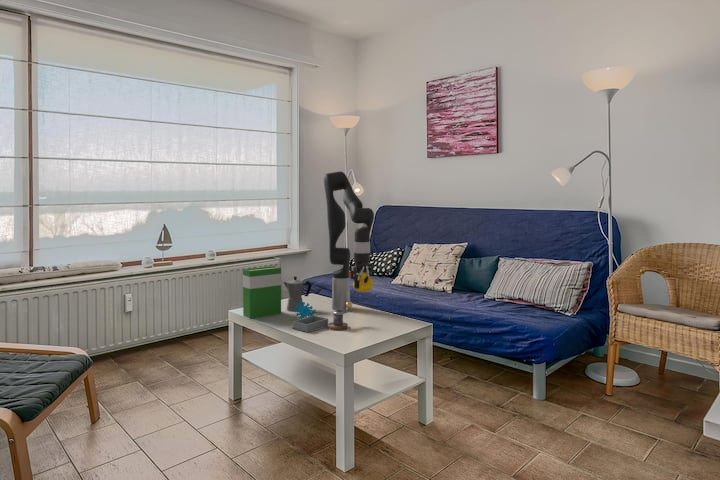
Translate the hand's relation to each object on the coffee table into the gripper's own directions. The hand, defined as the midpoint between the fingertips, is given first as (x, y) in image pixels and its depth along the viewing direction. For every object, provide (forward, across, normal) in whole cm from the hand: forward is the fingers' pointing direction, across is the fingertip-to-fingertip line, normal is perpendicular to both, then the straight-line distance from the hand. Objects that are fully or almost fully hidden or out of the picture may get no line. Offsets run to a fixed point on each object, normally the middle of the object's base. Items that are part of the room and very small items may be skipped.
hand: (361, 286), depth 223 cm
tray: (+19, +15, -18) cm, 31 cm away
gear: (+20, +4, -32) cm, 38 cm away
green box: (+20, +14, -53) cm, 59 cm away
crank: (+13, +3, -8) cm, 16 cm away
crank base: (+19, +7, -8) cm, 22 cm away
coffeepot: (+20, -5, -47) cm, 52 cm away
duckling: (+2, 0, 0) cm, 3 cm away
